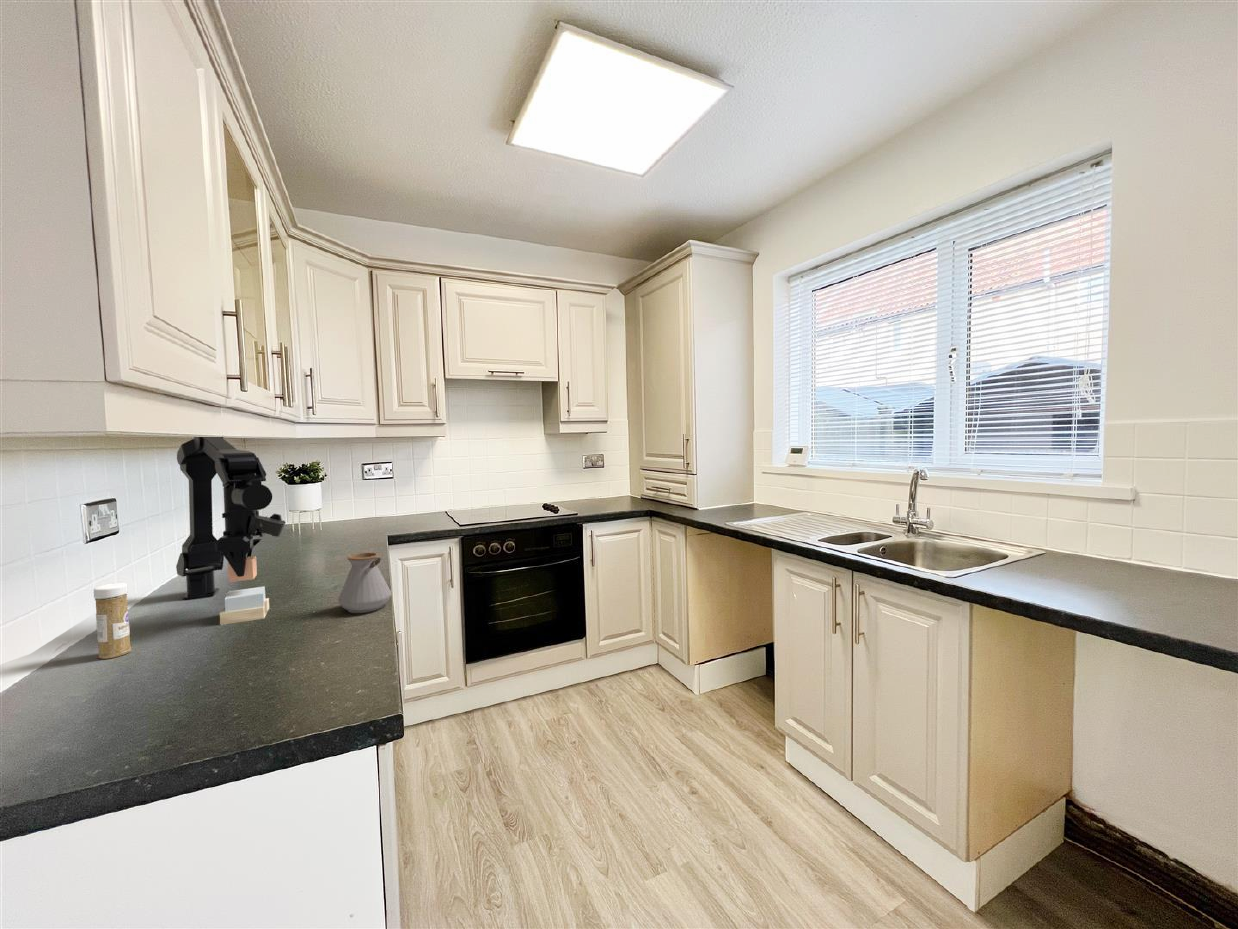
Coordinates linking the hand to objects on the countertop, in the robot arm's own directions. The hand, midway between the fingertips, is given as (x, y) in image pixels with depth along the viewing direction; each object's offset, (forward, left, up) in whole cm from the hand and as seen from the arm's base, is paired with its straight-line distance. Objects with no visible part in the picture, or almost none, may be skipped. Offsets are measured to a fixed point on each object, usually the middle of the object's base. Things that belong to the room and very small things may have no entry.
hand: (243, 573), depth 116 cm
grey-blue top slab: (0, 0, -7) cm, 7 cm away
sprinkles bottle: (+14, -18, -10) cm, 25 cm away
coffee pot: (+12, +26, -10) cm, 30 cm away
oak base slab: (0, 0, -10) cm, 10 cm away
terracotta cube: (0, 0, -1) cm, 1 cm away
